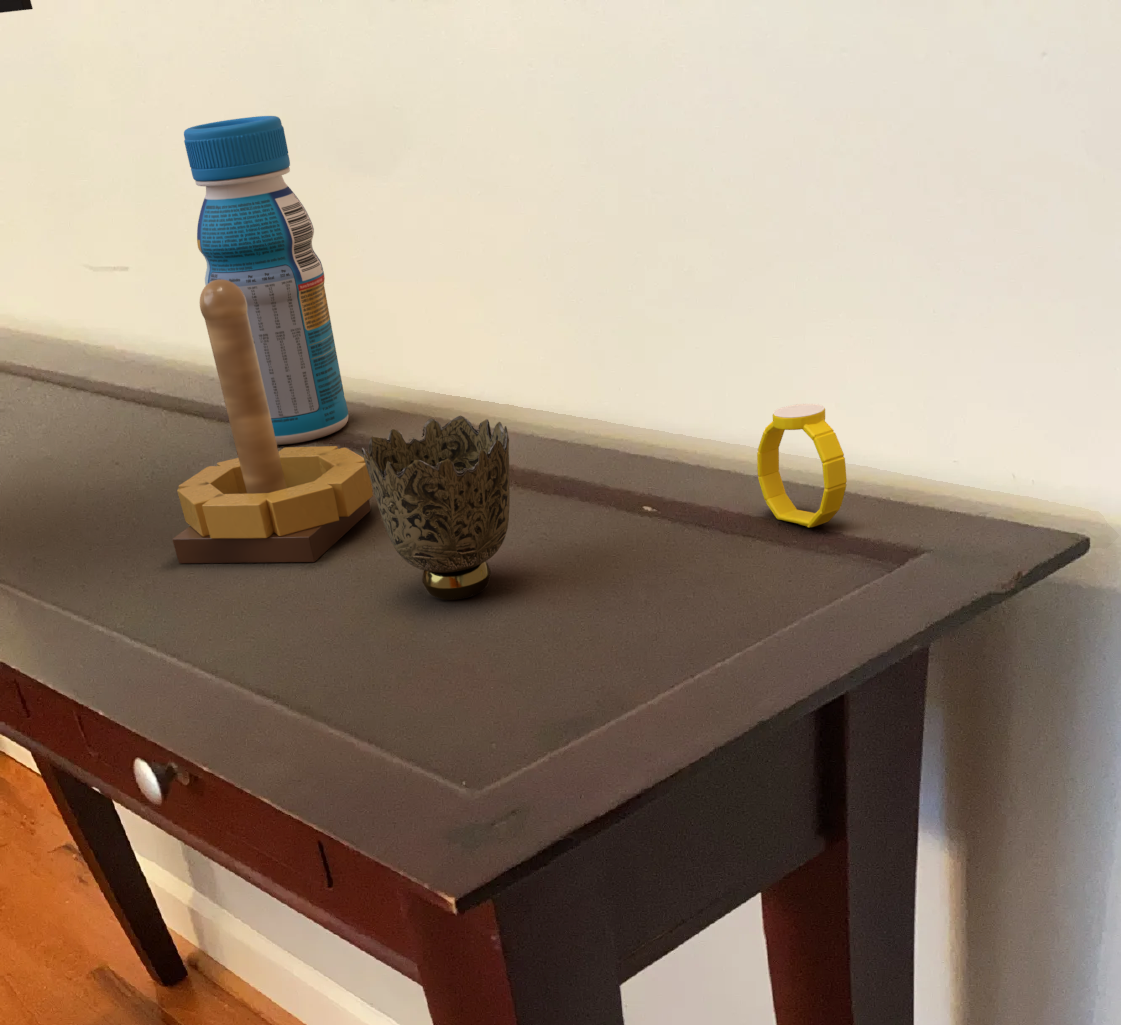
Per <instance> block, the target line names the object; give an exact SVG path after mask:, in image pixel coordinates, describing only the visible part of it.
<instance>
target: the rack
mask: <svg viewBox="0 0 1121 1025" xmlns="http://www.w3.org/2000/svg"><path fill="white" fill-rule="evenodd" d="M199 309H200V313H201V315H202V317H203V319H204V323H205V326H206V329H207V335H208V339H209V343H210V347H211V351H212V355H213V356H212V357H213V359H214V364H215V367H216V372H217V376H218V380H219V384H220V390H221V392H222V396H223V401H224V405H225V408H226V413H227V417H228V421H229V425H230V430H231V433H232V438H233V442H234V446H235V450H236V453H237V458H238V459H239V463H240V467H241V471H242V475H243V479H244V483H245V488H246V492H247V494H256V493H271V492H275V491H278V490H282V489H286V488H287V487H286V483H285V478H284V474H283V469H282V465H281V461H280V456H279V447H278V445H277V443H276V438H275V434H274V429H273V425H272V421H271V416H270V412H269V407H268V403H267V398H266V394H265V389H264V385H263V380H262V376H261V372H260V367H259V363H258V358H257V354H256V349H255V345H254V340H253V336H252V332H251V327H250V323H249V318H248V314H247V301H246V298H245V296H244V294H243V292H242V291H241V289H240V288H239V287H238V286H237V285H236V284H234V283H233V282H231V281H228V280H224V279H218V280H214V281H212V282H210V283H208V284H207V285H205V286H204V287H203V289H202V291H201V292H200V296H199ZM371 510H372V508H371V503H370V499H369V500H367V501H366V502H365V503H364V504H363V505H362V506H360V507H359V508H358V509H357V510H356V511H354V512H353V513H352V514H351V515H350V516H349V517H339V521H336V522H332V523H329V524H325V525H321V526H317V527H314V528H310V529H306V530H302V531H299V532H295V533H291V534H288V535H284V536H278V535H277V534H276V533H273V534H272V535H271V536H269V537H268V538H230V539H212V538H210V535H209V536H205V537H202V536H201V535H200V534H199V533H198V532H197V531H196V530H195V529H193V528H192V527H191V526H190V525H189V526H188V527H187V528H185V529H184V530H182V531H181V532H180V533H178V534H177V535H176V536H174V537H172V544H173V547H174V550H175V554H176V558H177V561H178V563H179V564H249V563H250V564H251V563H255V564H256V563H257V564H259V563H262V564H263V563H315V562H316V561H317V560H319V558H321V557H322V556H323V555H324V554H326V552H327V551H328V550H329V549H330V548H331V547H333V546H334V544H336V543H337V542H338V541H339V540H340V539H341V538H342V537H343V536H344V535H345V534H347V533H348V532H349V531H350V530H351V529H352V528H354V526H356V525H357V524H358V523H359V522H360V521H361V520H362V519H363V518H364V517H365V516H367V514H368V513H370V511H371Z"/></svg>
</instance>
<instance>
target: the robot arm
mask: <svg viewBox="0 0 1121 1025" xmlns="http://www.w3.org/2000/svg"><path fill="white" fill-rule="evenodd" d="M33 8H34V7H33V4H32V0H0V14H2V13H11V12H21V11H27V10H28V11H29V10H34V9H33Z"/></svg>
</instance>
